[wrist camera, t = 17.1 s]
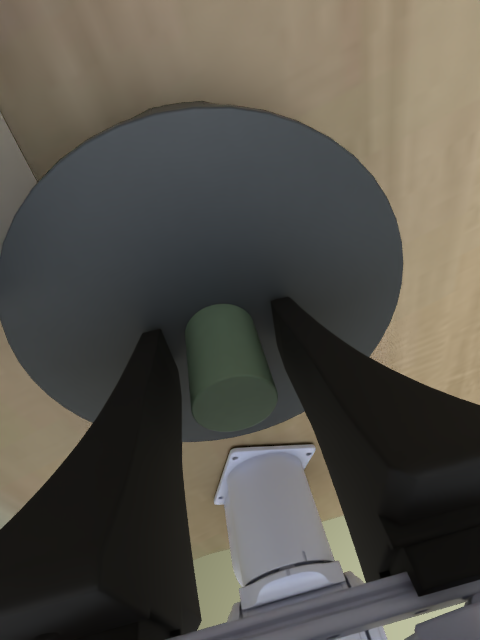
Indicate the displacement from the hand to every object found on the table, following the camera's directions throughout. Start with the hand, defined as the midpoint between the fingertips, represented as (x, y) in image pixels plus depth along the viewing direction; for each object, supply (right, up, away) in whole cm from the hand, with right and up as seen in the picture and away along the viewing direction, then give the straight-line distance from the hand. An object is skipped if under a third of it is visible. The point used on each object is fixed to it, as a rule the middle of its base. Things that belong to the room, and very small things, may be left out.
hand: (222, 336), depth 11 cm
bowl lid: (0, 0, +1) cm, 1 cm away
